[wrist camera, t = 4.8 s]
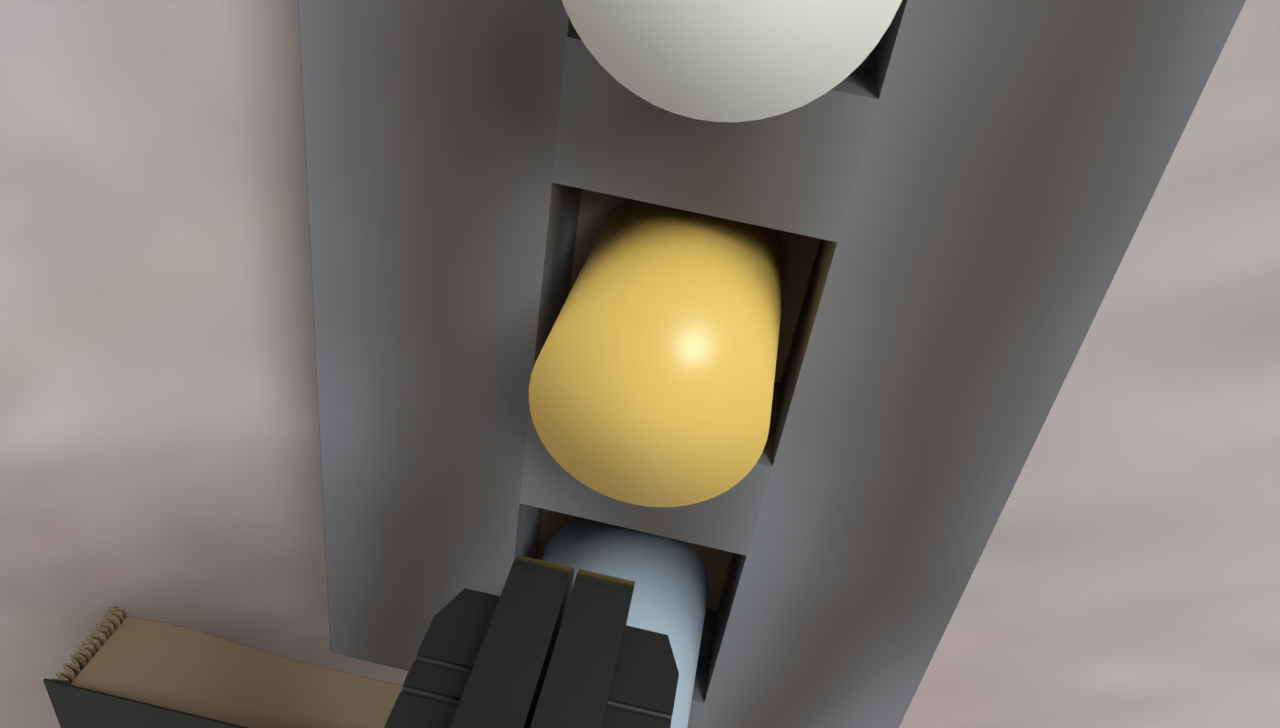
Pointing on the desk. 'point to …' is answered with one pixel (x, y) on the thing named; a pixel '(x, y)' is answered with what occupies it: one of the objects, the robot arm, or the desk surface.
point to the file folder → (204, 684)
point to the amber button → (663, 357)
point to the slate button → (646, 587)
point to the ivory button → (730, 50)
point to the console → (810, 319)
